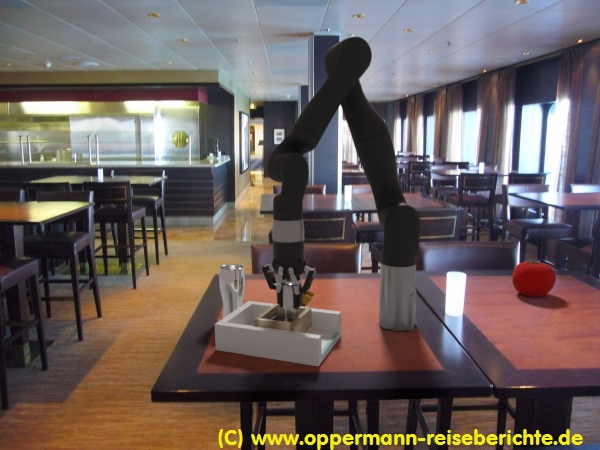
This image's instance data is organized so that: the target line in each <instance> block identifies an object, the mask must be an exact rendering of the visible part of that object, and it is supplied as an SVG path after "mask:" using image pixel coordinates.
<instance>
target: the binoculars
mask: <svg viewBox="0 0 600 450" xmlns="http://www.w3.org/2000/svg"><path fill="white" fill-rule="evenodd" d="M286 282H291V280H289V279H286ZM302 287H303V285H302ZM315 295H316V293H315V292H314V291H312V290H310V289H309V290H308V291H307V292H305V293H302V305H301V306H302V307H307V306H308V304H309V303H310V302H311V301H313V299H314V298H313V297H314V296H315Z"/></svg>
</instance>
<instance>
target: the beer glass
mask: <svg viewBox="0 0 600 450" xmlns="http://www.w3.org/2000/svg"><path fill="white" fill-rule="evenodd" d="M244 268H245V267H244V265H242V264H241V263H230V264H229V263H227V264H224V265H220V266H219V277H218V279H219V291H220V295H221V299H222V306H223V312H222V319H223V318H225V317H226V316H227V315H229V314H230V313H232V312H233V311H235V310H236V309H238V308H239V307H240V306H242V305H243V304H244V295H245V287H246V285H245V284H246V281H245V280H246V279H245V270H244Z"/></svg>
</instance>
